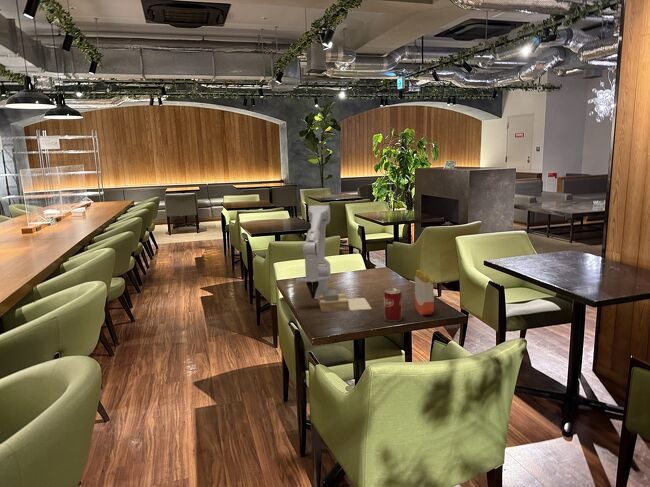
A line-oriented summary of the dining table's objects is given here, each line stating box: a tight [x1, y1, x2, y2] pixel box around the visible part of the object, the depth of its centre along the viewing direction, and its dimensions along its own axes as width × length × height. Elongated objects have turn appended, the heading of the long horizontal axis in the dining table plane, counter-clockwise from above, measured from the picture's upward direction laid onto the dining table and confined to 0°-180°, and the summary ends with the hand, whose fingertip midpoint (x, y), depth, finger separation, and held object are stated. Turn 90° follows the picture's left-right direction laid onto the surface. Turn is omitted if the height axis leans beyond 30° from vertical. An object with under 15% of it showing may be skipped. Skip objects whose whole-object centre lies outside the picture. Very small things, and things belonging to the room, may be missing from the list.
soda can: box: [383, 288, 403, 323], centre depth 200 cm, size 7×7×12 cm
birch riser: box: [317, 292, 350, 313], centre depth 220 cm, size 14×12×4 cm
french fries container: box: [414, 269, 435, 316], centre depth 206 cm, size 5×11×18 cm, turn 11°
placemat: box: [347, 297, 372, 312], centre depth 222 cm, size 16×10×1 cm, turn 7°
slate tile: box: [323, 289, 339, 301], centre depth 219 cm, size 9×6×2 cm, turn 7°
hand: (312, 298), depth 218 cm, fingers closed
